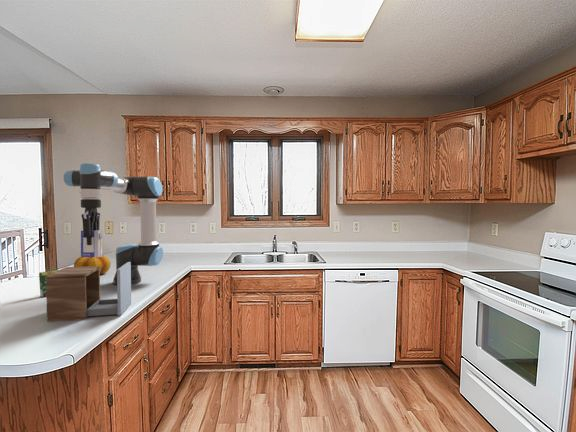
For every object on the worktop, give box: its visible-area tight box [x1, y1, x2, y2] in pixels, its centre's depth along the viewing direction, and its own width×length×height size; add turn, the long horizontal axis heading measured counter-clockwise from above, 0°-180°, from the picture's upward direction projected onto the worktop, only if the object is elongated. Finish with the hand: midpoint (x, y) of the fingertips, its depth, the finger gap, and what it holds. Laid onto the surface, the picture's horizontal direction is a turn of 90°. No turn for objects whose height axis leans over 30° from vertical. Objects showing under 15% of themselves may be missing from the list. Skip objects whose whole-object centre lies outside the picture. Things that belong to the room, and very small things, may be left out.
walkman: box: [80, 230, 103, 257], centre depth 134 cm, size 8×3×12 cm, turn 92°
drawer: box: [87, 262, 132, 317], centre depth 137 cm, size 17×14×20 cm
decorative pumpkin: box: [73, 254, 111, 275], centre depth 203 cm, size 20×22×15 cm
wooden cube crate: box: [45, 266, 101, 323], centre depth 133 cm, size 17×14×19 cm
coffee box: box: [38, 269, 60, 298], centre depth 158 cm, size 8×3×13 cm, turn 150°
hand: (92, 251), depth 134 cm, fingers closed on walkman, 3 cm apart
